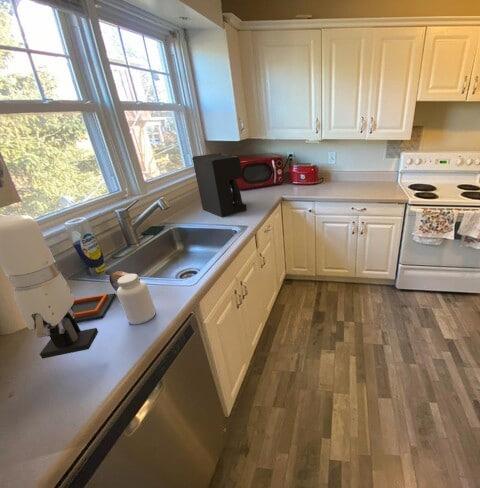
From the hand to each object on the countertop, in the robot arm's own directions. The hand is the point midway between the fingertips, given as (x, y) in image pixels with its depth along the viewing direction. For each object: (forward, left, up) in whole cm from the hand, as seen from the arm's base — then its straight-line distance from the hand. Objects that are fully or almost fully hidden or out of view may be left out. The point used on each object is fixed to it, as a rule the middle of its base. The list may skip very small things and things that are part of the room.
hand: (68, 338), depth 67 cm
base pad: (-12, +30, -12) cm, 34 cm away
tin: (+1, +36, -12) cm, 38 cm away
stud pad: (0, 0, -2) cm, 2 cm away
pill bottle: (+8, +20, -12) cm, 25 cm away
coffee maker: (+36, +123, -12) cm, 129 cm away
